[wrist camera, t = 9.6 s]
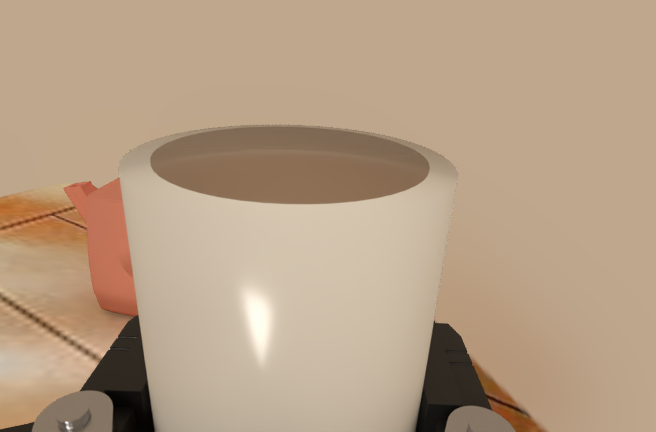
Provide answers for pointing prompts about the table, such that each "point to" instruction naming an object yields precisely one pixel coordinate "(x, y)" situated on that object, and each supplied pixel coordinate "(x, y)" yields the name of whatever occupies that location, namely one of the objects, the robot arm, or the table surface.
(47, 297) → the table surface
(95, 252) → the teapot
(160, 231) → the cream cup
